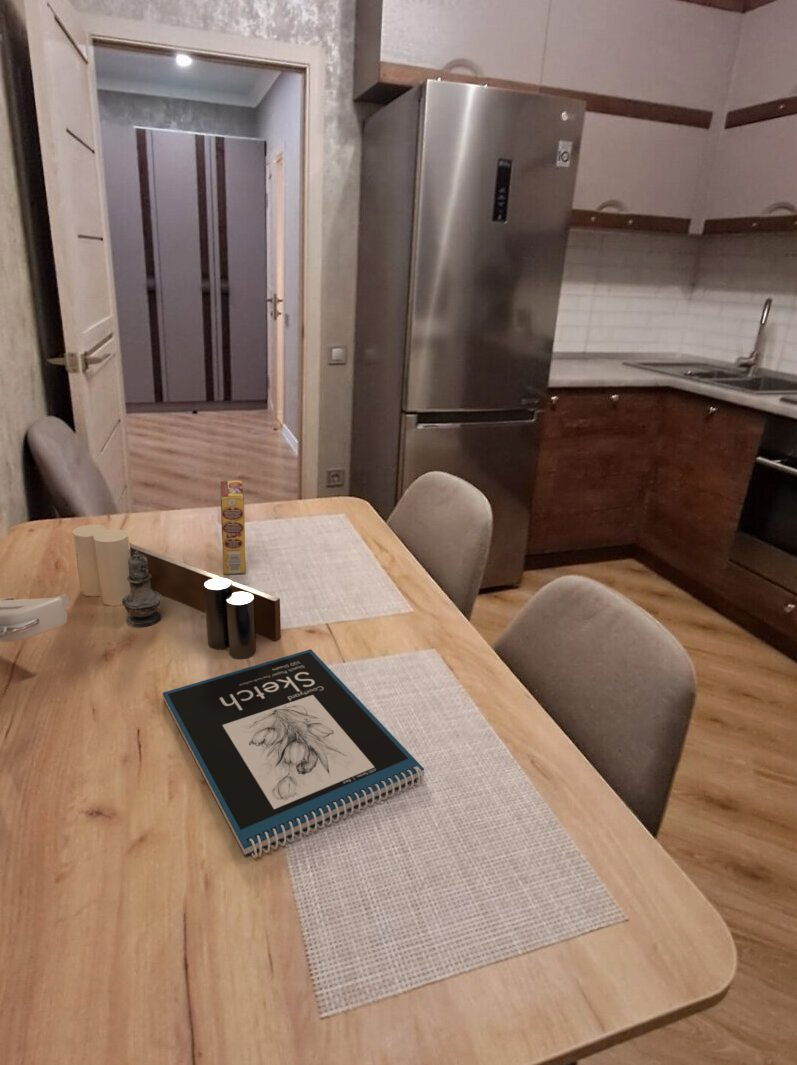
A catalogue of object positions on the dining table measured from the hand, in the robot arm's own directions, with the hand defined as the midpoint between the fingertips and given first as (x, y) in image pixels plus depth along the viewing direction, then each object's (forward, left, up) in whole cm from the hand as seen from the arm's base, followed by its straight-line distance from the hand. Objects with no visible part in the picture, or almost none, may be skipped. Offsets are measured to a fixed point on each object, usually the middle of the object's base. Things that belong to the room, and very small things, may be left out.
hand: (37, 601), depth 93 cm
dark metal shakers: (+21, +16, -8) cm, 27 cm away
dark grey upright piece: (+4, +14, -8) cm, 17 cm away
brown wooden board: (+6, +22, -8) cm, 24 cm away
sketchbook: (+41, +5, -8) cm, 42 cm away
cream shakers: (-7, +16, -8) cm, 20 cm away
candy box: (+1, +37, -8) cm, 38 cm away
